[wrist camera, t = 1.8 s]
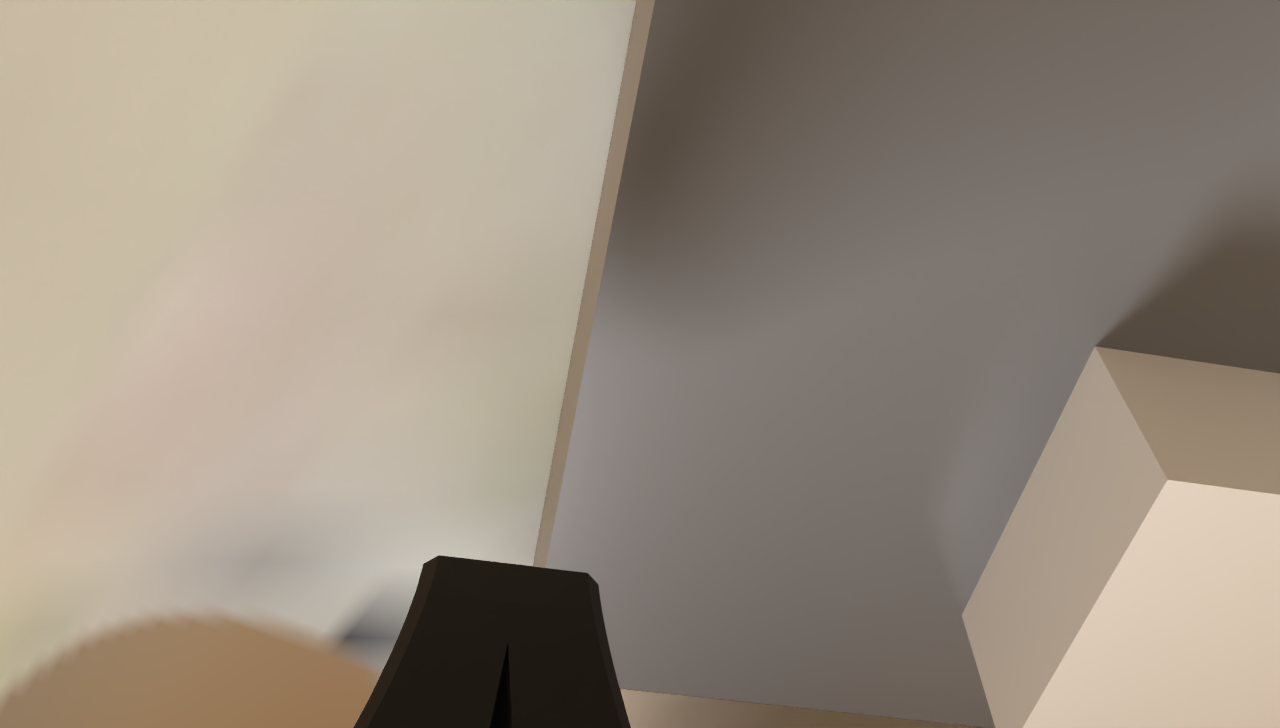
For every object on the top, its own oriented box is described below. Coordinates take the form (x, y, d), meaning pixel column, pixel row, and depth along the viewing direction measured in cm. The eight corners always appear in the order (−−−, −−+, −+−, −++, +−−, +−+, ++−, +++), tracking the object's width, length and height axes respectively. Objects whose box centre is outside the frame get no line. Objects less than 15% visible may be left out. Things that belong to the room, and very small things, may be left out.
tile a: (1270, 651, 15) (1350, 794, 13) (962, 615, 14) (1004, 757, 13) (1455, 399, 13) (1579, 534, 11) (1094, 346, 12) (1166, 480, 11)
